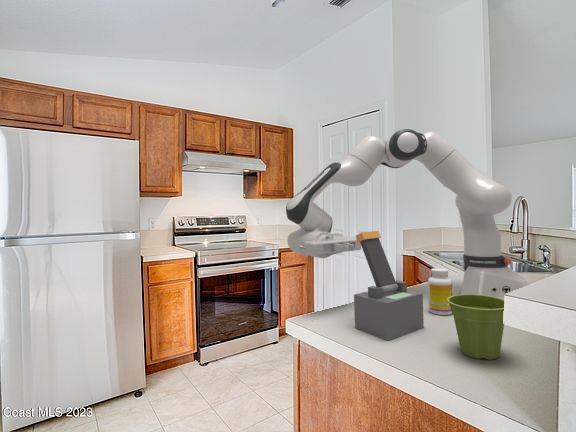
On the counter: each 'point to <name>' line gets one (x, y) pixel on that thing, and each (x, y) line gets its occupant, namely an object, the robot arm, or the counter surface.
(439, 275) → the supplement bottle
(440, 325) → the counter surface
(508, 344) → the counter surface
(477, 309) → the plant pot
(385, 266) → the lever
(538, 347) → the counter surface
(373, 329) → the box
